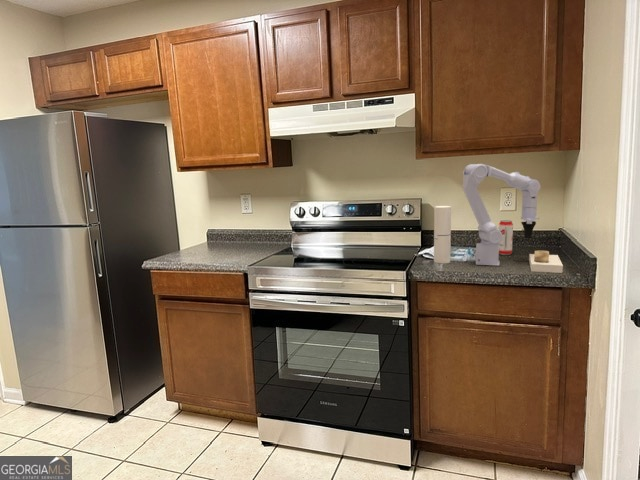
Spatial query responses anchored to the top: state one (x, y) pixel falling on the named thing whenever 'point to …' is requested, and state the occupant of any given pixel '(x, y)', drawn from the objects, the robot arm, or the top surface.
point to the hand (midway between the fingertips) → (527, 238)
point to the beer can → (506, 237)
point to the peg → (541, 256)
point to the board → (546, 264)
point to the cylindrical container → (442, 234)
